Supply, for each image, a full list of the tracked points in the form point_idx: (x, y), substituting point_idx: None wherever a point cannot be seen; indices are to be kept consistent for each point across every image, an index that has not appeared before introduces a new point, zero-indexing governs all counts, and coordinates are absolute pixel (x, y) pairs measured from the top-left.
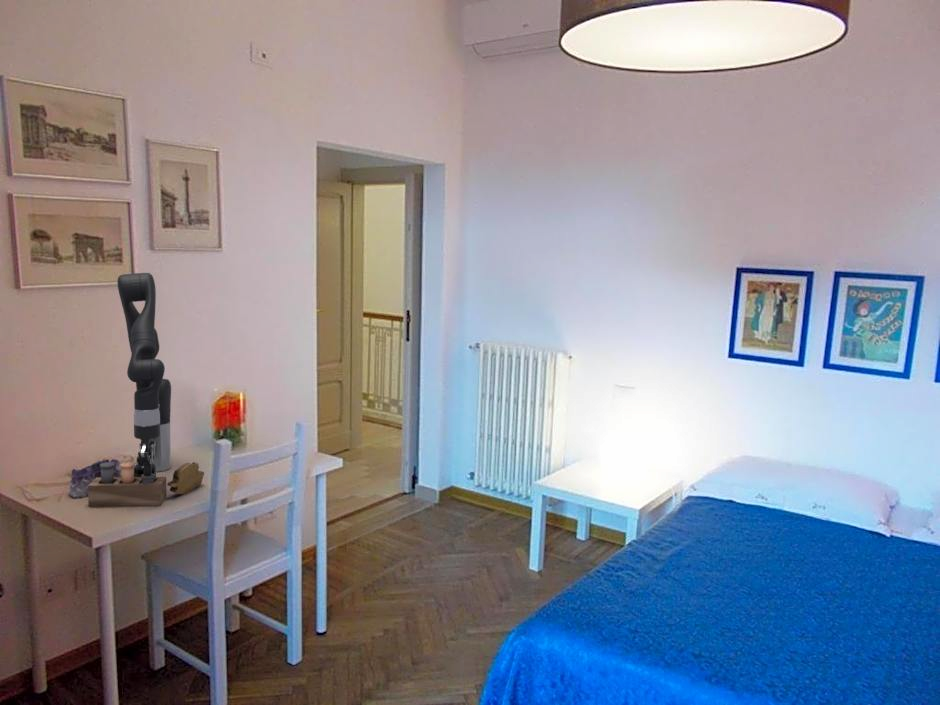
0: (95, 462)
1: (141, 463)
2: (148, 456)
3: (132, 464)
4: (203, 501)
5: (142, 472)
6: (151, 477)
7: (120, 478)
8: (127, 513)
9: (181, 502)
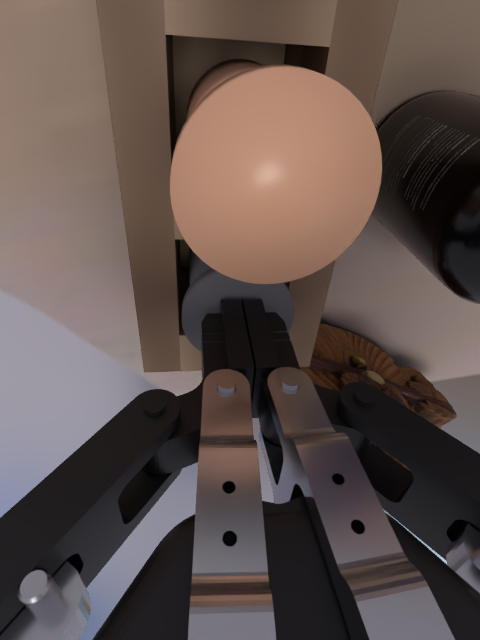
0: None
1: (128, 409)
2: (105, 557)
3: (248, 263)
4: None
5: (432, 219)
6: (197, 343)
7: (350, 17)
8: (15, 142)
9: None
